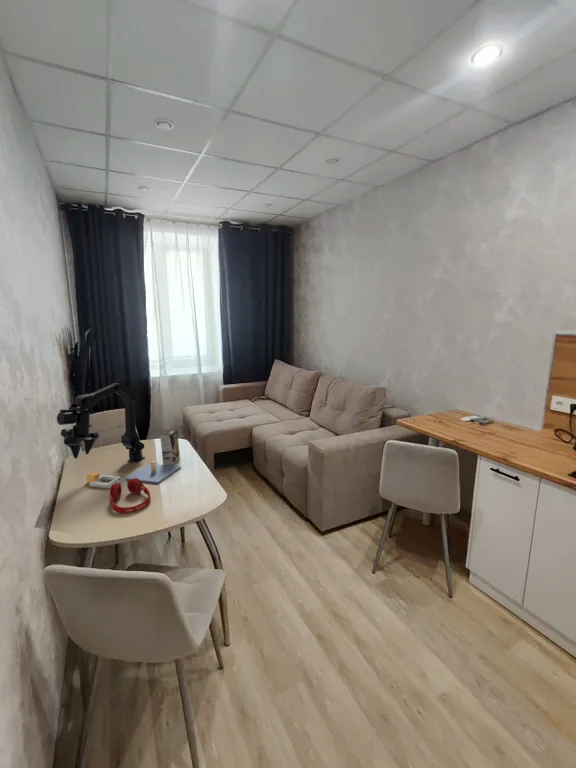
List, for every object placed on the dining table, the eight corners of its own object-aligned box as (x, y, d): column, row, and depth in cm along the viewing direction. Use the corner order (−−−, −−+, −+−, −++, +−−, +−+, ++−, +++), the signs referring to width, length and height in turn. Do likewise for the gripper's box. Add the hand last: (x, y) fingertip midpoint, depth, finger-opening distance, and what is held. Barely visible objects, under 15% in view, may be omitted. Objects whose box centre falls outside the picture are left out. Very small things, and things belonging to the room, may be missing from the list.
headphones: (106, 497, 155) (116, 523, 140) (104, 482, 153) (115, 507, 138) (141, 486, 164) (155, 510, 149) (140, 473, 162) (154, 495, 146)
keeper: (150, 465, 189) (149, 453, 188) (180, 468, 184) (179, 455, 182) (126, 480, 172) (124, 467, 171) (158, 484, 167) (156, 470, 166)
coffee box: (175, 464, 189) (172, 434, 186) (162, 465, 189) (159, 435, 186) (180, 458, 198) (177, 429, 195) (168, 458, 198) (165, 429, 195)
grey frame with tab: (121, 480, 172) (120, 472, 171) (108, 488, 164) (107, 480, 163) (96, 477, 176) (95, 470, 176) (82, 485, 168) (81, 477, 168)
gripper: (77, 419, 179) (76, 451, 179) (52, 424, 160) (51, 459, 161) (99, 420, 179) (98, 452, 179) (77, 425, 160) (76, 461, 161)
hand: (81, 456), depth 170 cm, fingers open, 9 cm apart
